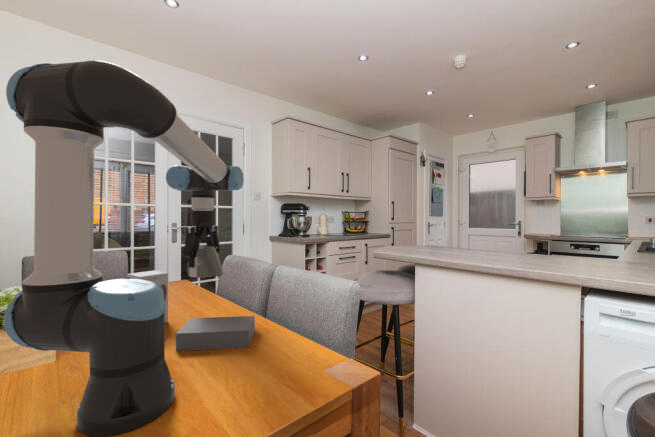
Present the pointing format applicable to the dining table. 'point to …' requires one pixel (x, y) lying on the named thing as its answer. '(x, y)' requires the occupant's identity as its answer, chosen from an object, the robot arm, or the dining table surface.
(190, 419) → the dining table surface
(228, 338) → the charcoal block
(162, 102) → the robot arm
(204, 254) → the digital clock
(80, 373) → the dining table surface
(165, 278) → the supplement box
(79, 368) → the dining table surface
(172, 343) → the dining table surface
